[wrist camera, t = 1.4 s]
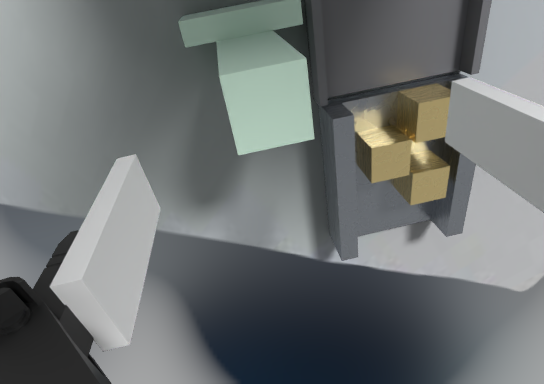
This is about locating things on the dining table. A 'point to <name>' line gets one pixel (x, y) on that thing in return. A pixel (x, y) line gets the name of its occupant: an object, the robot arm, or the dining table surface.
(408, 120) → the dull yellow cube
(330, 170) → the slot rail
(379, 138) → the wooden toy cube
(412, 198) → the tan yellow cube
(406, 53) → the chip tray
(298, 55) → the mint t-shaped block
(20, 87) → the dining table surface
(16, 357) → the robot arm
